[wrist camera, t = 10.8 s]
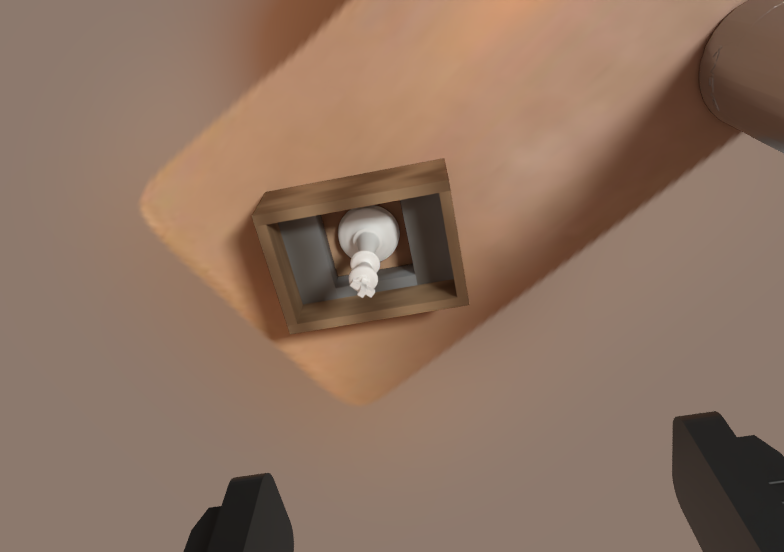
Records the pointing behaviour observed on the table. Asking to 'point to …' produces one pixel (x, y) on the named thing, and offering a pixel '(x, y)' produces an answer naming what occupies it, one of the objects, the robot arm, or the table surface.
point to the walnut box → (395, 285)
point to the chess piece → (367, 244)
